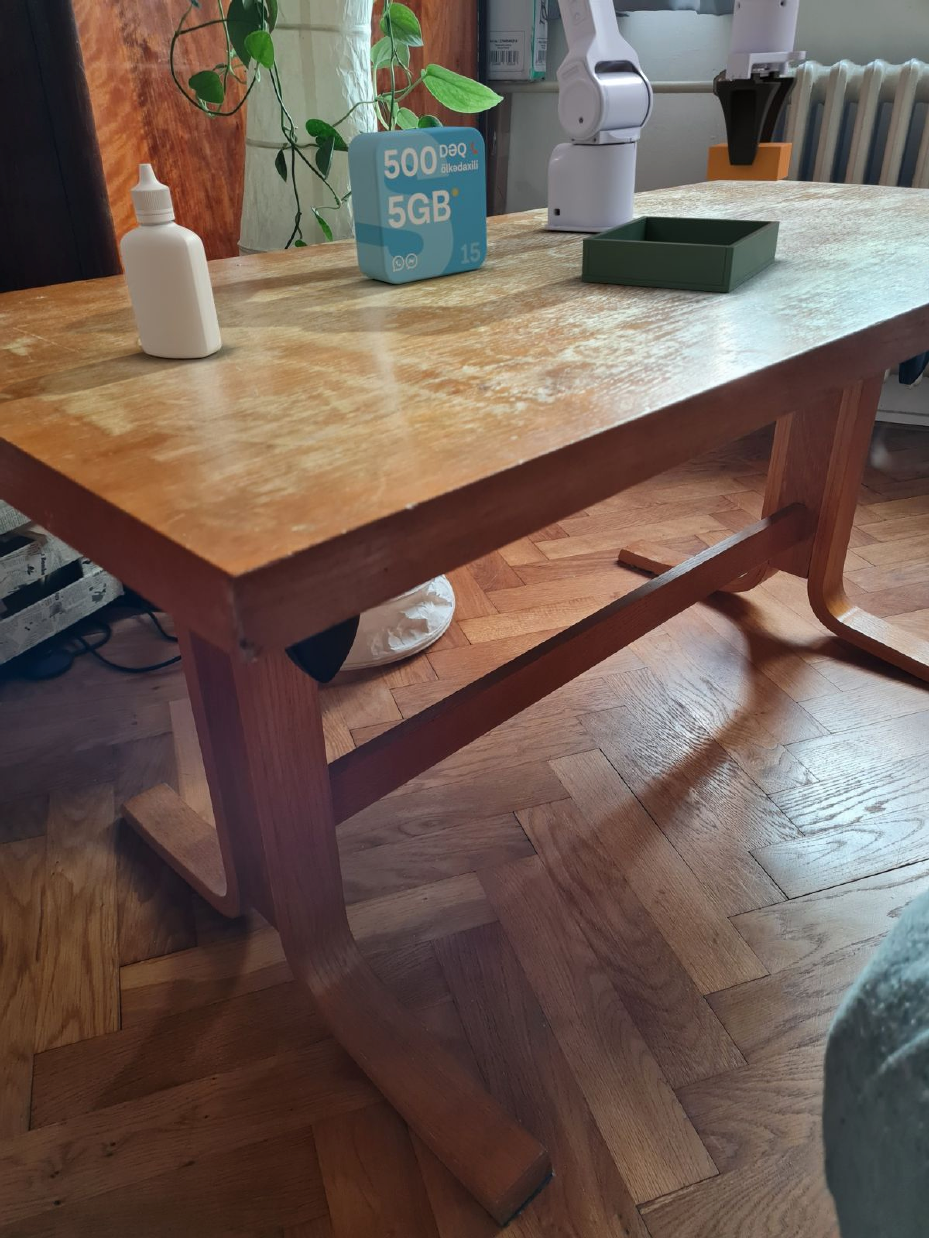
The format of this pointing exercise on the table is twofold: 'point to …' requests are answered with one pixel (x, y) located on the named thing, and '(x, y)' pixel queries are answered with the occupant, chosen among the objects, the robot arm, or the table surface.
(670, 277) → the bin
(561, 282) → the table surface
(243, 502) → the table surface
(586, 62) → the robot arm
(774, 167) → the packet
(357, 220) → the data package
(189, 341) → the eye dropper bottle
